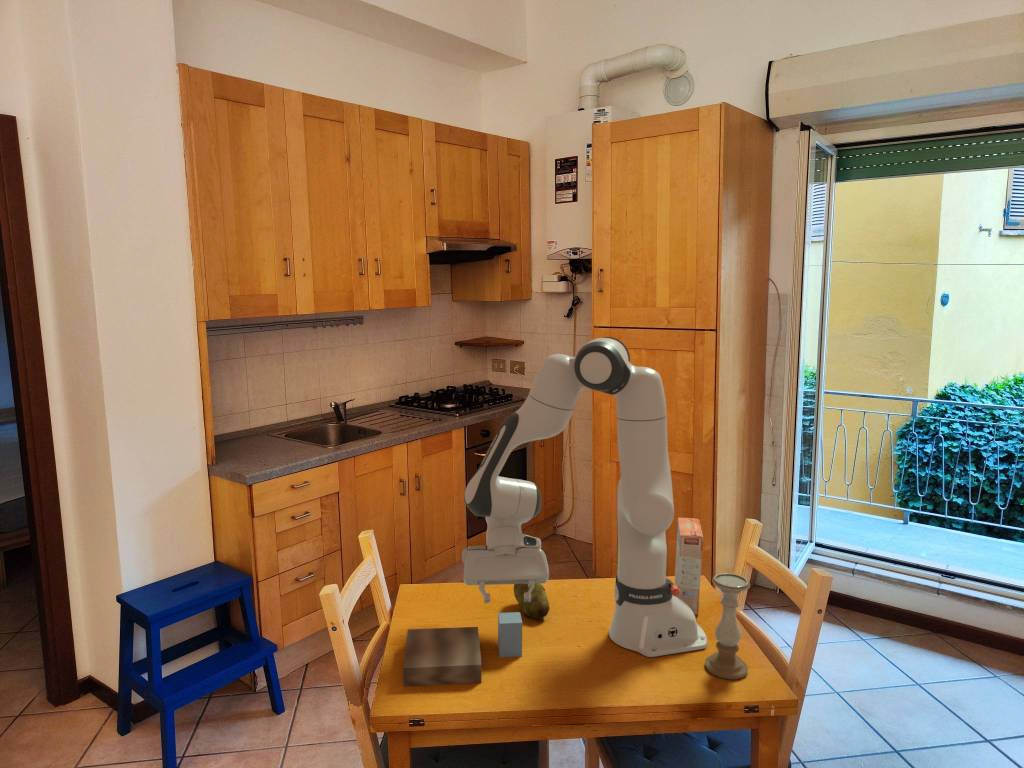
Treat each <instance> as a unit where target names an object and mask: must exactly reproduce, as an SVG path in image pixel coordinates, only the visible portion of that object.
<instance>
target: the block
mask: <svg viewBox="0 0 1024 768" xmlns="http://www.w3.org/2000/svg"><path fill="white" fill-rule="evenodd" d="M497 613H498V614H497V647H498V648H497V649H499V650H498V655H499V656H498V657H499V658H516V657H521V658H522V657H523V620H522V616H521V614H522V613H521V612H520V611H516V612H515V611H514V612H513V611H511V612H497Z"/></svg>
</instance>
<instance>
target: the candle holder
mask: <svg viewBox="0 0 1024 768" xmlns="http://www.w3.org/2000/svg"><path fill="white" fill-rule="evenodd" d="M711 580H712V581H711V582H712V584H713V586H715V587H716V588H718V589H720V591H721V593H722V594H723V597H722V599H720V601H719V602H720V604H721V605H722V611H721V618H720V620H719V622H718V623H717V625H716V627H715V630H714V634H715V635H714V636H715V638H716V641H717V642H716V644H715V648H716V649H717V651H716V652H714V653H712V654H711V655H709V656H707V657H706V659H705V662H704V664H705V668H706V670H707V671H708V672H709V673H710V674H712V675H714V676H715V675H716V676H715V677H717V676H718V678H720V677H721V678H722V679H724V678H725V679H724V680H740V679H742V677H743V678H745V677H746V675H747V674H748V665H747V663H746V662H745V660H742V658H741V657H740V656H738V655H737V653H738V652H739V650H740V648H739V647H740V646H739V645H738V644H739V643H740V641H741V640H742V631H741V629H740V626H739V624H738V621H737V607H739V606H740V602H739V601H738V599H737V598H738V595H740V594H741V593H742V592H745V591H747V590H748V589H750V587H751V583H750V581H749V579H748V578H747V577H745V576H743V575H741V574H736V573H733V572H732V573H729V572H720V573H716V574H714V575H713V577H712V579H711ZM721 678H720V679H721ZM739 678H740V679H739Z"/></svg>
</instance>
